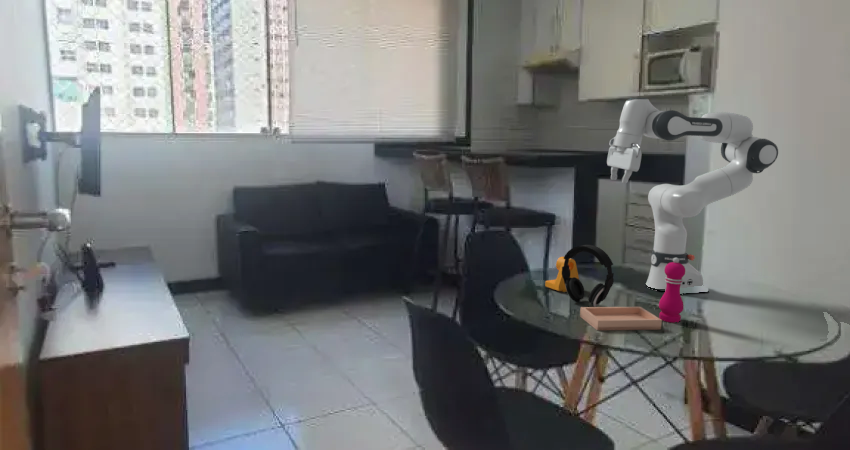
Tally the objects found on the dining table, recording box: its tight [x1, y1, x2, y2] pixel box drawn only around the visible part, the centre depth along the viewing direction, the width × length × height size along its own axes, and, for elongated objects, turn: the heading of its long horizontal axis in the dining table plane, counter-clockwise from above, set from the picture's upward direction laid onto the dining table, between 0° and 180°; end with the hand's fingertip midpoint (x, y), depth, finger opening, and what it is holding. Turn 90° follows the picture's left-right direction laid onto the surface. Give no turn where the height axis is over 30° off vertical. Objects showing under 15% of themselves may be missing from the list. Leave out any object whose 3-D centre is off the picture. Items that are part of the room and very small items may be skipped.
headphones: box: [562, 244, 615, 307], centre depth 199 cm, size 18×8×20 cm, turn 45°
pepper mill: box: [658, 258, 685, 324], centre depth 185 cm, size 7×7×20 cm
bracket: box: [544, 256, 580, 293], centre depth 218 cm, size 11×7×12 cm, turn 123°
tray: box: [579, 306, 663, 331], centre depth 182 cm, size 20×13×3 cm, turn 98°
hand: (618, 181), depth 213 cm, fingers open, 8 cm apart
